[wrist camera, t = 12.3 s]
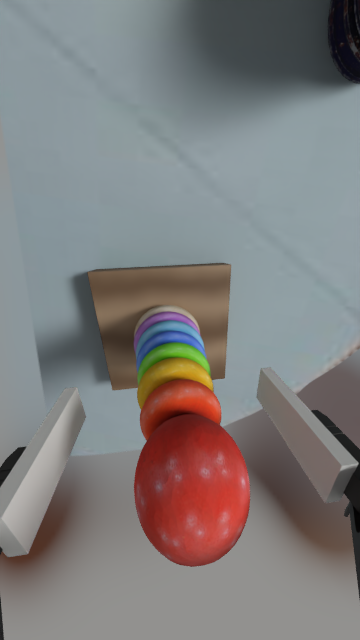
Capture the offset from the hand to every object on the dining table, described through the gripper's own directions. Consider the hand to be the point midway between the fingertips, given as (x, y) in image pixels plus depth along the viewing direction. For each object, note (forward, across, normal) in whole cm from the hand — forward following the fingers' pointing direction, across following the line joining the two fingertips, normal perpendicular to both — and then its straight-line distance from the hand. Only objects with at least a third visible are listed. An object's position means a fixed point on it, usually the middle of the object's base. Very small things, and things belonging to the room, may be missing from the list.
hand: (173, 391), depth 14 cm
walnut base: (+14, 0, 0) cm, 14 cm away
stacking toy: (+11, 0, 0) cm, 11 cm away
